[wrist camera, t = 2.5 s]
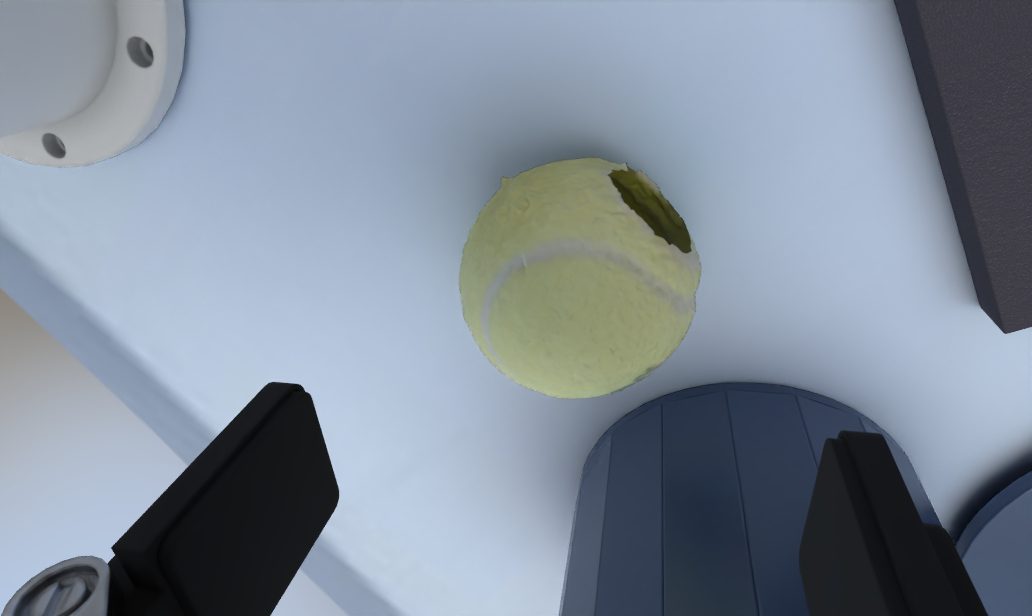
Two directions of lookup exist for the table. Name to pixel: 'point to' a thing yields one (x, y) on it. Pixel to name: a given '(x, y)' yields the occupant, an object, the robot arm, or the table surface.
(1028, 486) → the tin lid
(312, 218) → the table surface
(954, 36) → the notebook
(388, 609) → the table surface
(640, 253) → the tennis ball
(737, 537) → the tin
